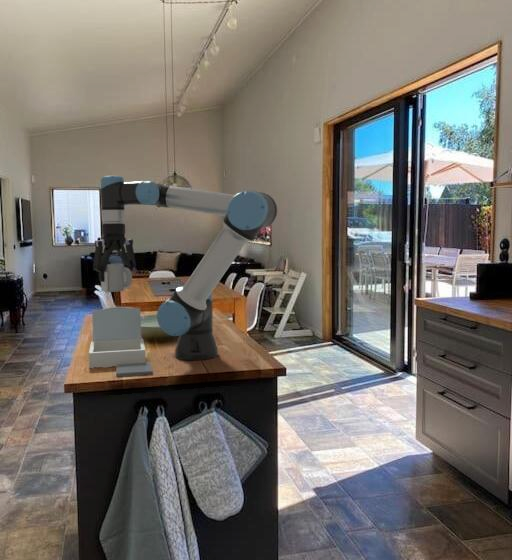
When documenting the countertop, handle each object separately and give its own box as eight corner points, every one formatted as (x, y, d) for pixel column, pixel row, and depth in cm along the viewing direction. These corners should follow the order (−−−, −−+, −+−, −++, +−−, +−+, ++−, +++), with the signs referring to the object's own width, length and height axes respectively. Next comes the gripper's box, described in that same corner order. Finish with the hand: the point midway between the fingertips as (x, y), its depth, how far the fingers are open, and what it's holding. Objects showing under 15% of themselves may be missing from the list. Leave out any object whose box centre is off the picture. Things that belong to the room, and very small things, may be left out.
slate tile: (152, 374, 176) (152, 371, 175) (116, 376, 173) (116, 373, 173) (150, 365, 186) (150, 362, 186) (116, 367, 184) (116, 364, 183)
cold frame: (145, 364, 187) (144, 318, 186) (89, 368, 183) (87, 320, 181) (142, 349, 210) (141, 307, 208) (92, 352, 205) (90, 309, 204)
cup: (103, 289, 194) (102, 264, 193) (133, 288, 196) (132, 263, 195) (101, 292, 187) (100, 265, 186) (131, 291, 189) (131, 264, 188)
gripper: (132, 222, 199) (134, 286, 201) (79, 223, 183) (82, 292, 186) (145, 222, 194) (147, 287, 197) (92, 223, 178) (95, 294, 181)
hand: (116, 289), depth 191 cm, fingers closed on cup, 8 cm apart
